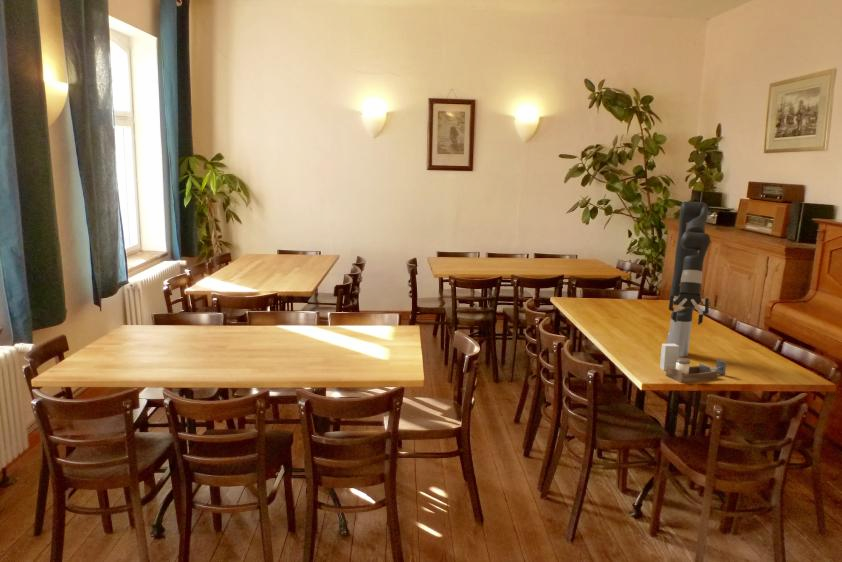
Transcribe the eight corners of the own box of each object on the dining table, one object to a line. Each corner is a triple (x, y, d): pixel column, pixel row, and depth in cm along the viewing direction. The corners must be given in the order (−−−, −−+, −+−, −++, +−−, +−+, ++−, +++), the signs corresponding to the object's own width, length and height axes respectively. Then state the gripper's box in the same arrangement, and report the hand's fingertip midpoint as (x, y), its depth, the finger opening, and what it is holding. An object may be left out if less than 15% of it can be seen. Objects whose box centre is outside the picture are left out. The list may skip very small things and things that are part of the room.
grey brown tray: (665, 377, 250) (666, 366, 249) (700, 373, 257) (702, 362, 256) (680, 384, 242) (682, 373, 241) (716, 379, 248) (718, 368, 248)
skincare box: (672, 369, 261) (675, 343, 259) (676, 372, 257) (679, 346, 254) (659, 369, 261) (661, 343, 258) (663, 372, 257) (666, 346, 254)
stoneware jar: (671, 376, 249) (673, 358, 247) (681, 375, 251) (683, 357, 249) (680, 381, 244) (683, 362, 242) (691, 379, 246) (693, 361, 244)
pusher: (698, 374, 254) (699, 360, 253) (715, 371, 257) (717, 358, 256) (708, 378, 249) (710, 365, 248) (726, 376, 252) (728, 362, 251)
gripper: (711, 285, 231) (707, 326, 230) (672, 282, 238) (668, 321, 237) (710, 282, 225) (706, 324, 224) (670, 279, 232) (666, 320, 231)
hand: (687, 323), depth 230 cm, fingers open, 8 cm apart
